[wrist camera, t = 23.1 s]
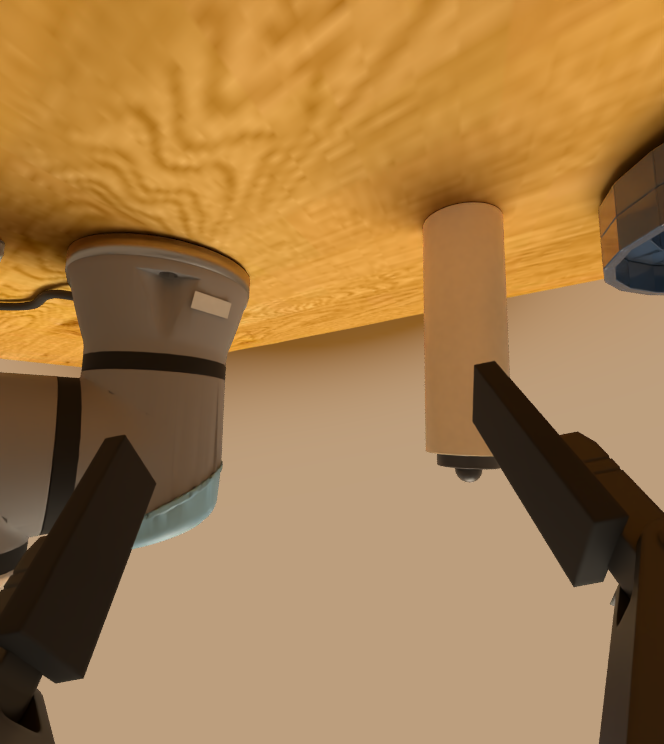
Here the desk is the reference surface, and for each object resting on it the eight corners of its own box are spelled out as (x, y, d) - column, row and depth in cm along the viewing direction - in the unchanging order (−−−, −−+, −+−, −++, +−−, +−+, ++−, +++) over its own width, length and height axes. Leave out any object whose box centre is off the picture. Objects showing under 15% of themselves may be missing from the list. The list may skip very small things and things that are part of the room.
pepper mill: (426, 245, 30) (429, 474, 27) (418, 209, 25) (422, 485, 23) (499, 235, 28) (509, 479, 26) (506, 195, 23) (520, 491, 21)
